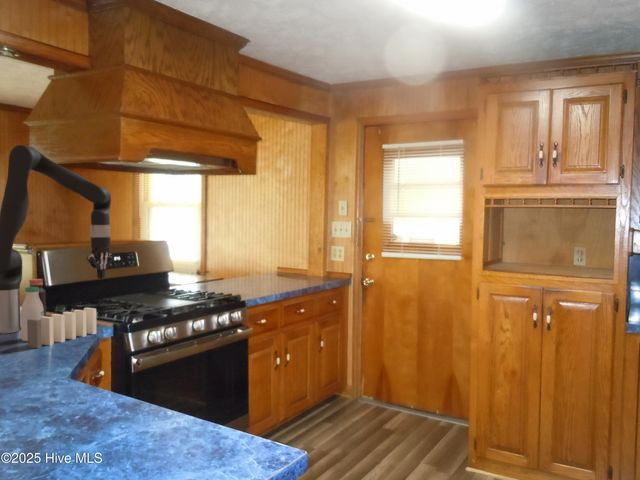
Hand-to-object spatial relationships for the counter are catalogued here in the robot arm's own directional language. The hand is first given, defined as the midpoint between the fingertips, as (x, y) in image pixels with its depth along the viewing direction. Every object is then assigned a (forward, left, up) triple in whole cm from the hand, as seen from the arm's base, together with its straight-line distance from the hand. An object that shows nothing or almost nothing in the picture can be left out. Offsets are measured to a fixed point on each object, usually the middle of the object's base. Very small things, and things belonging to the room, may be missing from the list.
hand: (101, 278), depth 217 cm
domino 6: (0, -6, -21) cm, 22 cm away
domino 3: (0, -21, -21) cm, 30 cm away
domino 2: (0, -26, -21) cm, 34 cm away
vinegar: (-29, -7, -22) cm, 37 cm away
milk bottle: (-11, -23, -22) cm, 33 cm away
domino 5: (0, -11, -21) cm, 24 cm away
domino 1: (0, -31, -21) cm, 38 cm away
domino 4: (0, -16, -21) cm, 27 cm away
